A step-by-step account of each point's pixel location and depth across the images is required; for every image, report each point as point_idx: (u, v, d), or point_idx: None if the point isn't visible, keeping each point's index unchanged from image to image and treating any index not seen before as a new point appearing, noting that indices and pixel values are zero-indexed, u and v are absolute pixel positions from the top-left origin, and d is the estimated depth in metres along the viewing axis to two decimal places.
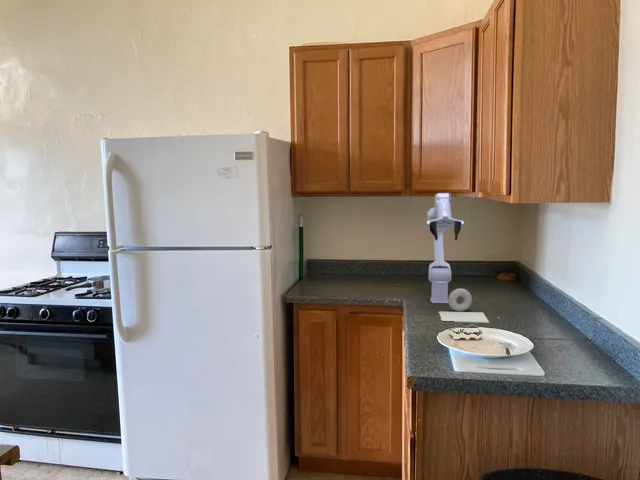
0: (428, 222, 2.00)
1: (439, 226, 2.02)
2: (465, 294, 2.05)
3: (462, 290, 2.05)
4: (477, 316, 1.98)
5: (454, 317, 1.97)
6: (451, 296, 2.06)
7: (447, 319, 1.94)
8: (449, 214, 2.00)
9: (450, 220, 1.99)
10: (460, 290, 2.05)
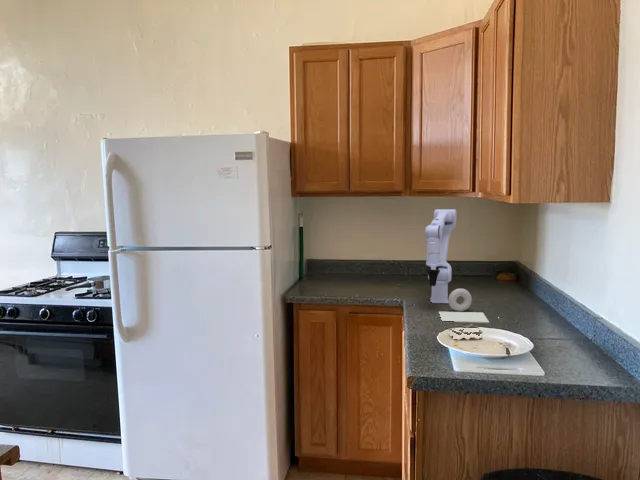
0: (435, 267, 2.03)
1: (429, 265, 2.08)
2: (465, 294, 2.05)
3: (462, 290, 2.05)
4: (477, 316, 1.98)
5: (454, 317, 1.97)
6: (451, 296, 2.06)
7: (447, 319, 1.94)
8: None
9: None
10: (460, 290, 2.05)
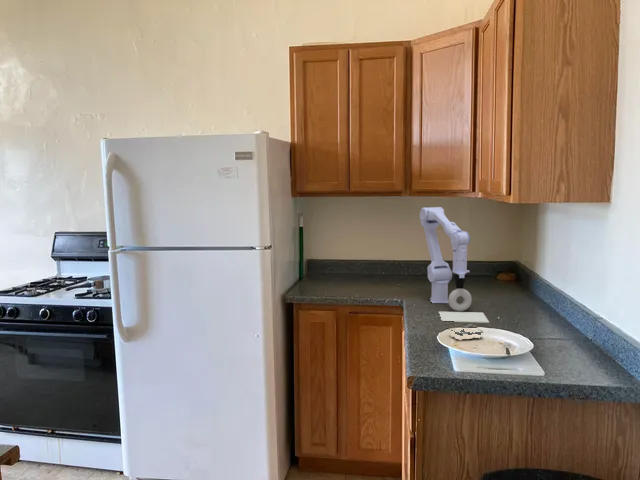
0: (464, 275, 2.02)
1: (456, 273, 2.07)
2: (465, 294, 2.05)
3: (462, 290, 2.05)
4: (477, 316, 1.98)
5: (454, 317, 1.97)
6: (451, 296, 2.06)
7: (447, 319, 1.94)
8: None
9: None
10: (460, 290, 2.05)
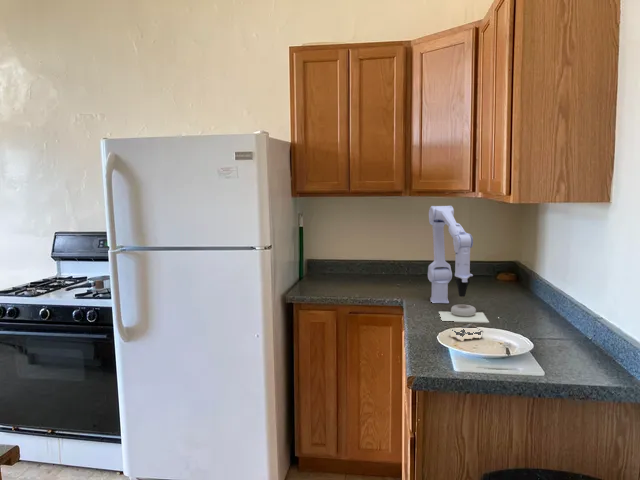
0: (467, 280, 1.93)
1: None
2: None
3: (466, 315, 1.97)
4: (477, 316, 1.98)
5: (454, 317, 1.97)
6: (453, 313, 2.00)
7: (447, 319, 1.94)
8: None
9: None
10: (464, 315, 1.97)
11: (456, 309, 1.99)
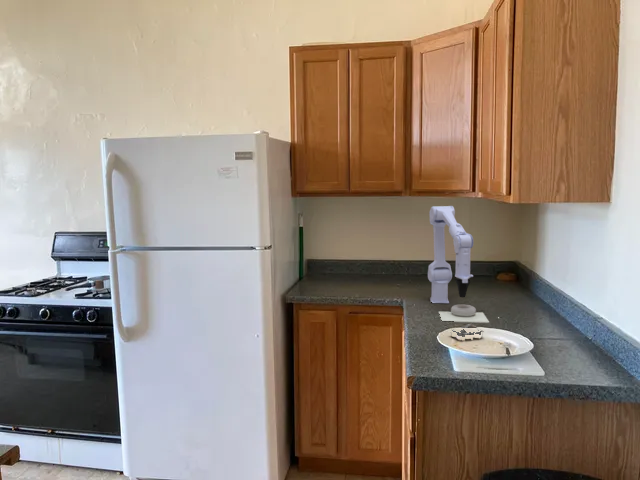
0: (467, 280, 1.92)
1: (459, 277, 1.97)
2: None
3: (466, 315, 1.97)
4: (477, 316, 1.98)
5: (454, 317, 1.97)
6: (453, 313, 2.00)
7: (447, 319, 1.94)
8: None
9: None
10: (464, 315, 1.97)
11: (456, 309, 1.99)
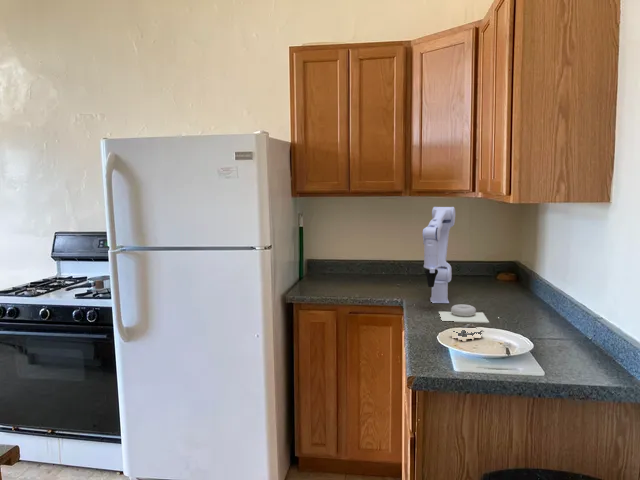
0: (434, 270, 2.01)
1: (427, 268, 2.06)
2: None
3: (466, 315, 1.97)
4: (477, 316, 1.98)
5: (454, 317, 1.97)
6: (453, 313, 2.00)
7: (447, 319, 1.94)
8: None
9: None
10: (464, 315, 1.97)
11: (456, 309, 1.99)
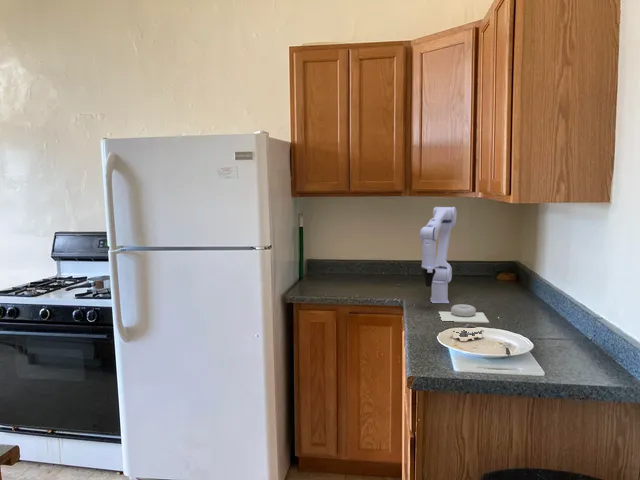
0: (432, 270, 2.02)
1: (425, 267, 2.07)
2: None
3: (466, 315, 1.97)
4: (477, 316, 1.98)
5: (454, 317, 1.97)
6: (453, 313, 2.00)
7: (447, 319, 1.94)
8: None
9: None
10: (464, 315, 1.97)
11: (456, 309, 1.99)
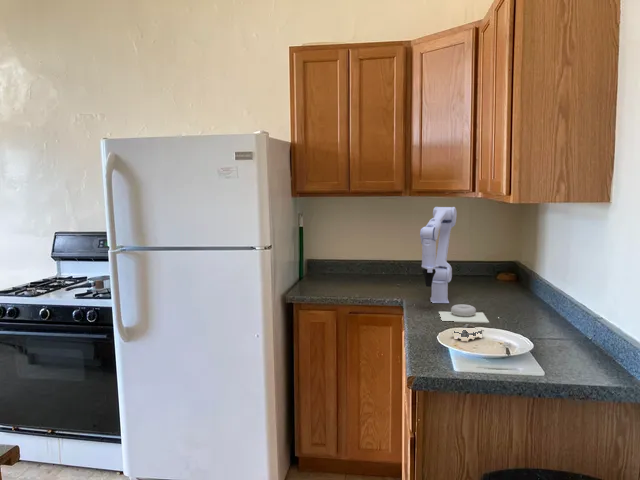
0: (432, 270, 2.02)
1: (425, 267, 2.07)
2: None
3: (466, 315, 1.97)
4: (477, 316, 1.98)
5: (454, 317, 1.97)
6: (453, 313, 2.00)
7: (447, 319, 1.94)
8: None
9: None
10: (464, 315, 1.97)
11: (456, 309, 1.99)
